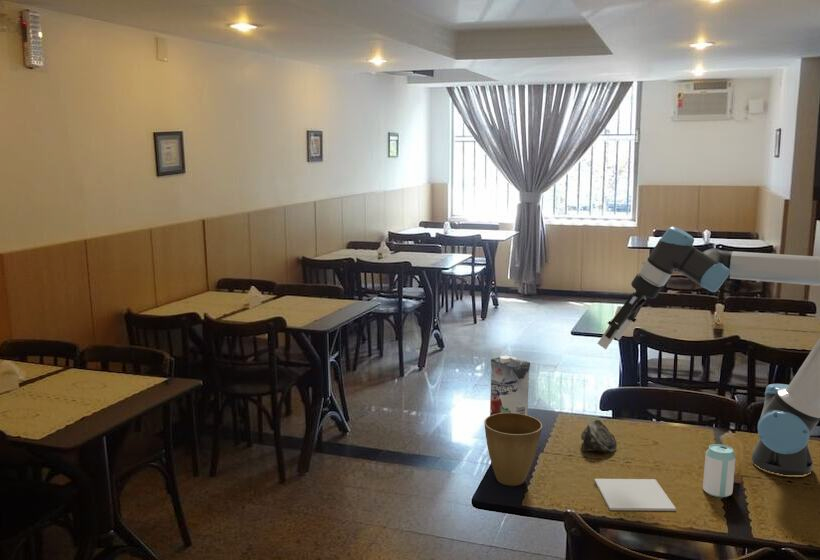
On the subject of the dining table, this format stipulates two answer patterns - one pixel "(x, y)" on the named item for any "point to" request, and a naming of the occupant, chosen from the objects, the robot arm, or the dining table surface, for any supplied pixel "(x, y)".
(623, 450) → the dining table surface
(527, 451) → the plant pot
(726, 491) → the can
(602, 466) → the dining table surface
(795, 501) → the dining table surface
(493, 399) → the juice carton
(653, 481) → the white mat
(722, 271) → the robot arm
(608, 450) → the fossil
